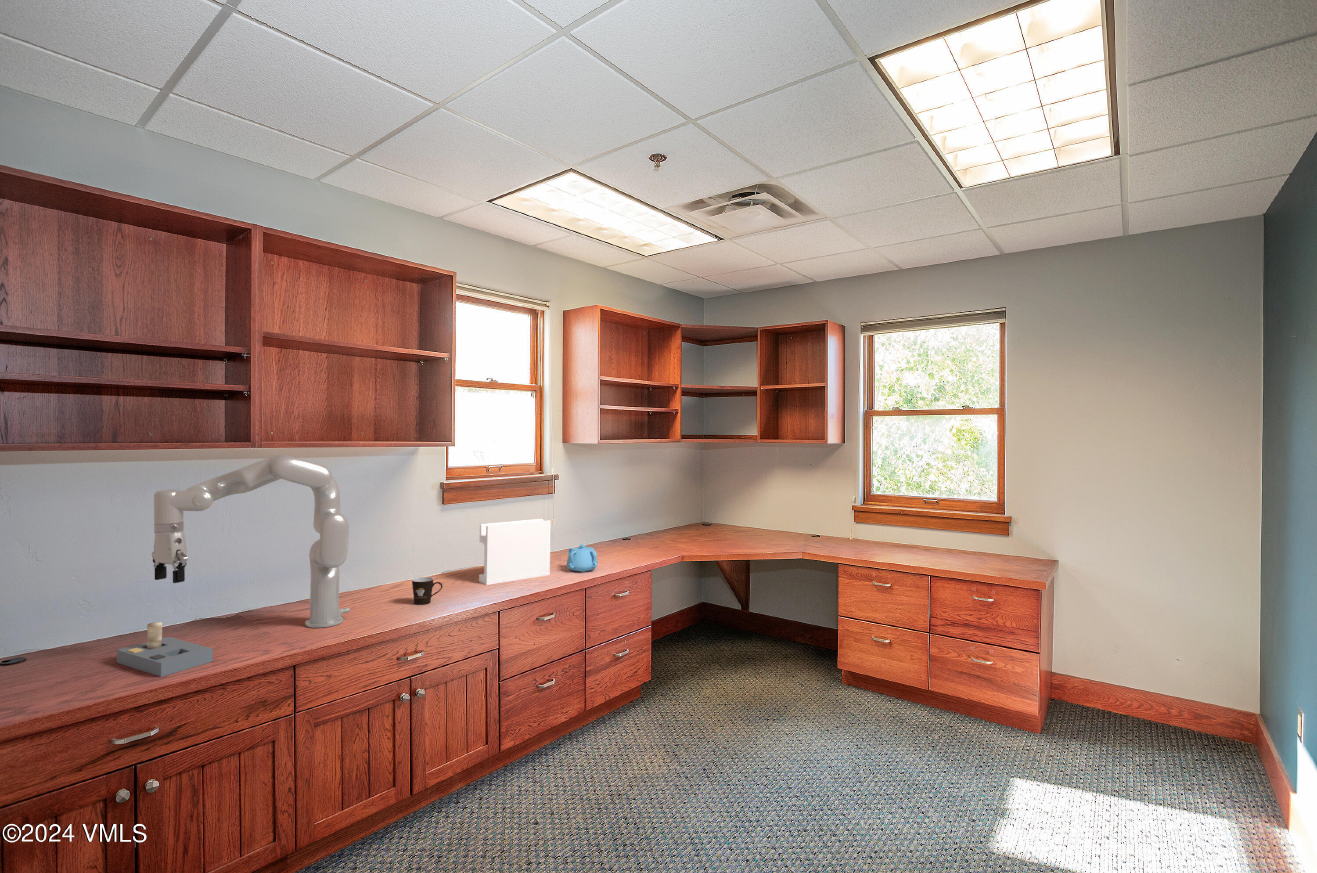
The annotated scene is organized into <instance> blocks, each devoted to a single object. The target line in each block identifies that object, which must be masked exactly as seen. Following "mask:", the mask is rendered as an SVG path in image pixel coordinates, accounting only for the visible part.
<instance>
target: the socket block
mask: <svg viewBox="0 0 1317 873" xmlns="http://www.w3.org/2000/svg"><path fill="white" fill-rule="evenodd" d="M213 658H214V648H212V647H209V646H205V645H201V644H198V643H193V642H190V641H187V640H186V641H185V640H183V639H179V638H176V637H171V636H166V637H162V647H158V648H154V649H150V650H149V649H147V641H146V642H143V643H138V644H134V645H130V646H126V647H123V648H118V649H117V650H116V663H117V664H120V665H123V666H126V667H129V668H131V669H132V668H133V669H135V670H138V671H142V672H145V673H147V674H151V675H154V676H158V677H160V678H161V677H162V678H163V677H166V676H169V675H173V674H175V673H179V672H182V671H185V670H188V669H192V668H195V667H198V666H202V665H205V664H209V663H212V662H213V661H214V659H213Z"/></svg>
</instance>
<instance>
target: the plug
mask: <svg viewBox="0 0 1317 873" xmlns="http://www.w3.org/2000/svg"><path fill="white" fill-rule="evenodd" d="M146 629H147V630H146V635H147V637H146V642H147V649H149V650H150V649H154V648H158V647H162V638H163V622H162V621H156V622H155V621H154V622H150V623H148V624H147V628H146Z"/></svg>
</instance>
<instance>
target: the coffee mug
mask: <svg viewBox="0 0 1317 873" xmlns="http://www.w3.org/2000/svg"><path fill="white" fill-rule="evenodd" d="M411 582H412V583H411V586H412V594H413V604H414V605H416V606H425V605H429V604H430V603H431V600H432V597H434V595H437V594H438V593H439V592H441V590H442V589H443V583H441V582H440V581H435V582H434V577H432V576H431V577H430V576H421V577H414V578H412V579H411ZM436 584H439V585H440V588H439V589H438V591H436V592H434V593H433V588H434V587H435V585H436ZM432 593H433V594H432Z"/></svg>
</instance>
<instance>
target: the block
mask: <svg viewBox="0 0 1317 873" xmlns="http://www.w3.org/2000/svg"><path fill="white" fill-rule="evenodd" d="M551 523H552V521H551V520H550V519H549V520H547V519H546V520H544V518H534V519H533V518H532V519H523V520H522V519H521V520H514V521H499V522H487V523H480V524H479V543H480V544H482V545H483V546H484V553H483V554H484V555H483V556H484V557H483V558H484V559H483V564H484V565H483V567H484V568H483V573H481V574H478V582H479V583H481V584H483V585H485V586H489V585H494V584H500V583H501V584H502V583H507V582H513V581H514V582H515V581H521V580H526V579H533V578H539V577H546V576H550V575H551V532H552V531H551V530H552V529H551V526H552V524H551Z"/></svg>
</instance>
